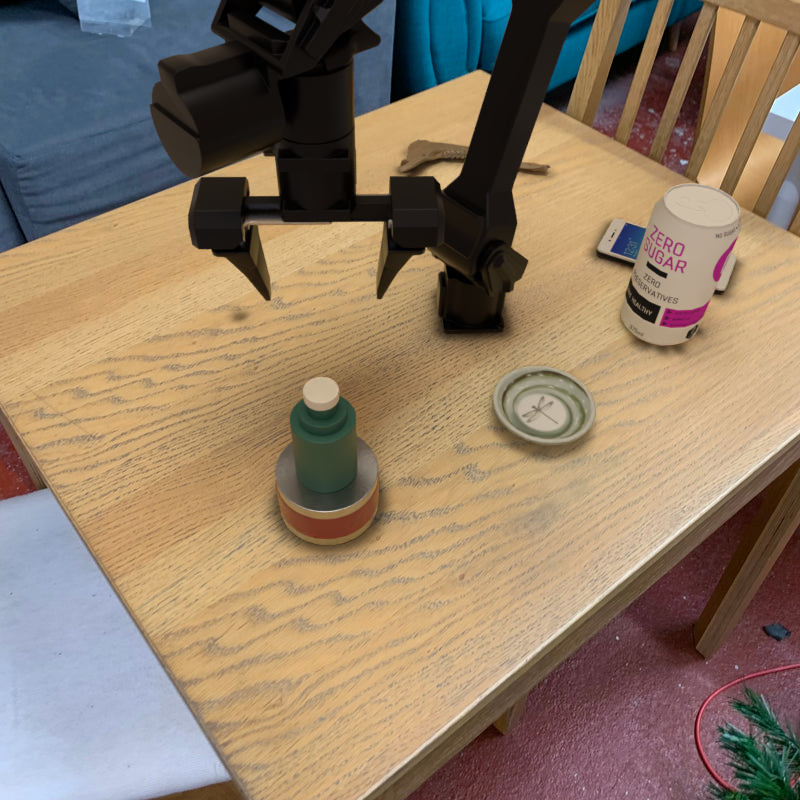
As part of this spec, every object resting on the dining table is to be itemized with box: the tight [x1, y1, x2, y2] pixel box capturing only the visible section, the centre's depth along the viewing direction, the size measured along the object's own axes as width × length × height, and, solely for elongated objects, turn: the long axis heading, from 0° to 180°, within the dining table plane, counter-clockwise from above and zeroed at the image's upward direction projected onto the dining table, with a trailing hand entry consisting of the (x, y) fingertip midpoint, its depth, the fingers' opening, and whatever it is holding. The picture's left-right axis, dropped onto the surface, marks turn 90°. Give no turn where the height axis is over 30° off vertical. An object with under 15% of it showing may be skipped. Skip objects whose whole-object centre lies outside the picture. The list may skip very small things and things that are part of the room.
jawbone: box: [396, 139, 551, 173], centre depth 102 cm, size 9×20×2 cm, turn 99°
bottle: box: [289, 376, 358, 493], centre depth 59 cm, size 5×5×10 cm
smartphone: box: [595, 218, 737, 295], centre depth 89 cm, size 8×1×15 cm
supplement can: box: [619, 182, 742, 346], centre depth 77 cm, size 8×8×15 cm
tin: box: [274, 435, 380, 546], centre depth 64 cm, size 8×8×5 cm
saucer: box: [491, 365, 597, 446], centre depth 72 cm, size 10×10×2 cm
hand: (324, 296), depth 64 cm, fingers open, 9 cm apart
